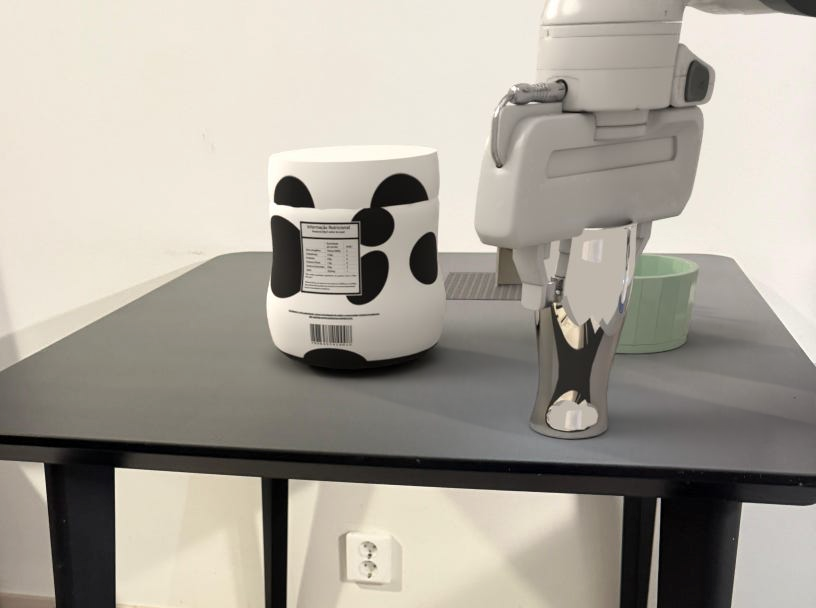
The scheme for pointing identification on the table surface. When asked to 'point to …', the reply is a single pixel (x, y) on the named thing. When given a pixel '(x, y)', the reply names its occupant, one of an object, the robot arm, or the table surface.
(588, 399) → the beer glass
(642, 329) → the ceramic cup
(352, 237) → the milk container
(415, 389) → the table surface
